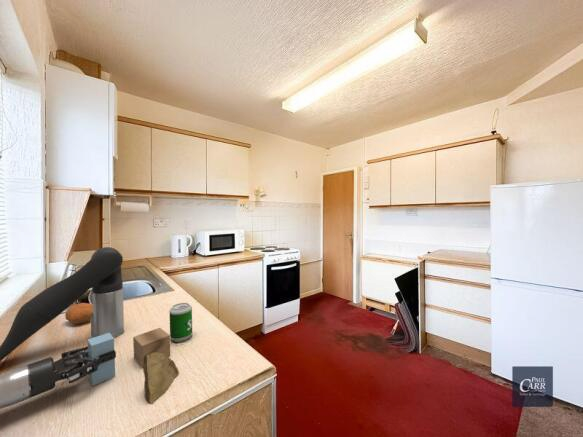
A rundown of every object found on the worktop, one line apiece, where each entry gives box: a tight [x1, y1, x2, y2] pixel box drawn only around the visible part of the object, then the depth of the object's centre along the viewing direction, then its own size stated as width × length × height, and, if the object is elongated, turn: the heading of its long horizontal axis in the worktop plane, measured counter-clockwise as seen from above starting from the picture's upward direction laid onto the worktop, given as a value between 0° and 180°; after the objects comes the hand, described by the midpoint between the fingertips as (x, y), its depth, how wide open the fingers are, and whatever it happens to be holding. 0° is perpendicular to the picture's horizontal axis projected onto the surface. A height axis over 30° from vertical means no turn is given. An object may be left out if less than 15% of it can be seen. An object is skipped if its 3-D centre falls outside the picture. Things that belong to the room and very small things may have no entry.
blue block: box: [87, 333, 116, 386], centre depth 68 cm, size 5×5×11 cm
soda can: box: [168, 302, 193, 343], centre depth 89 cm, size 8×8×12 cm
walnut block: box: [132, 327, 171, 369], centre depth 77 cm, size 8×8×7 cm
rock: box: [142, 352, 180, 405], centre depth 65 cm, size 11×9×10 cm
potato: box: [64, 302, 93, 324], centre depth 103 cm, size 9×11×8 cm
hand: (112, 350), depth 70 cm, fingers closed on blue block, 5 cm apart
